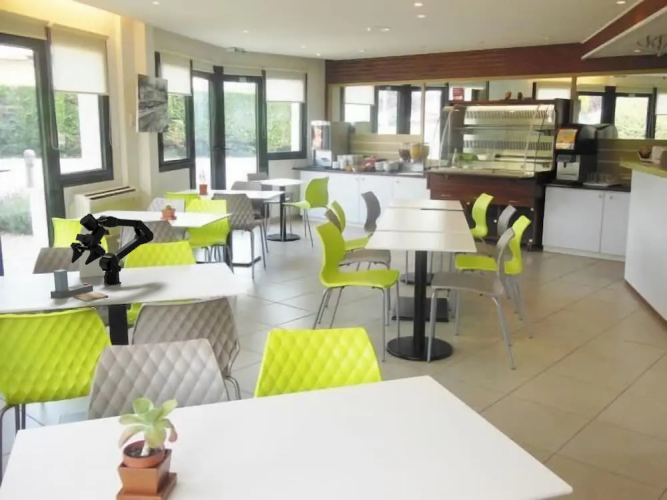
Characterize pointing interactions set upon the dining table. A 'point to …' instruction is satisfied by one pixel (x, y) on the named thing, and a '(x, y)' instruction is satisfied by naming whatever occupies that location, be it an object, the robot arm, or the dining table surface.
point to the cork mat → (90, 296)
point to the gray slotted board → (73, 290)
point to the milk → (91, 268)
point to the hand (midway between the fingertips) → (78, 263)
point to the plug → (61, 280)
